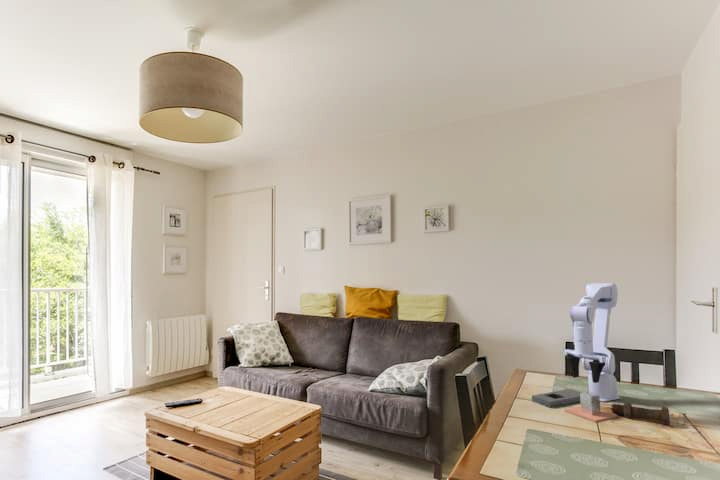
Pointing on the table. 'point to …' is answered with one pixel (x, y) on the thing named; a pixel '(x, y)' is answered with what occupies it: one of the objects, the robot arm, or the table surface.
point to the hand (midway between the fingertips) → (585, 379)
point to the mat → (594, 418)
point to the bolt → (642, 412)
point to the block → (557, 398)
